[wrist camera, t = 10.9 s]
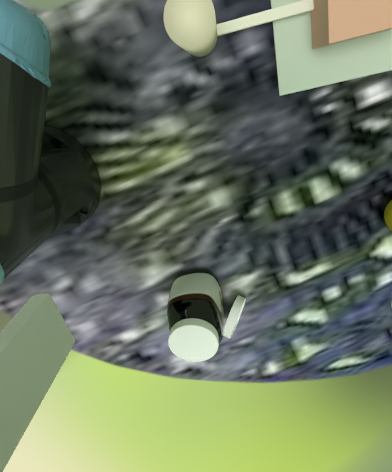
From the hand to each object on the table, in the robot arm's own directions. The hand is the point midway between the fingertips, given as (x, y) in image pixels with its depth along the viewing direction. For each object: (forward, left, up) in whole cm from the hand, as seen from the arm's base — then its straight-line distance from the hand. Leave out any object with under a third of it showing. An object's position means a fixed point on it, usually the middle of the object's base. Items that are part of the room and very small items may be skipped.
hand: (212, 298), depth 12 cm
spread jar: (-6, -24, -32) cm, 40 cm away
